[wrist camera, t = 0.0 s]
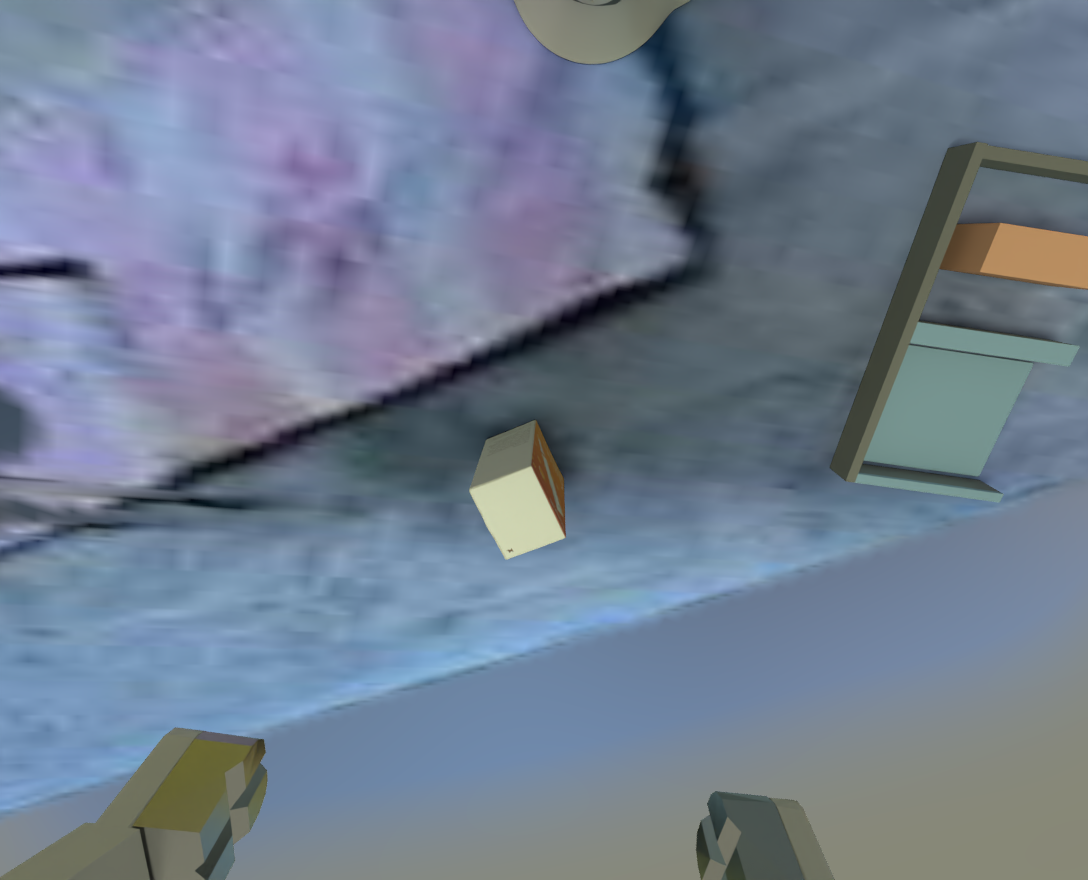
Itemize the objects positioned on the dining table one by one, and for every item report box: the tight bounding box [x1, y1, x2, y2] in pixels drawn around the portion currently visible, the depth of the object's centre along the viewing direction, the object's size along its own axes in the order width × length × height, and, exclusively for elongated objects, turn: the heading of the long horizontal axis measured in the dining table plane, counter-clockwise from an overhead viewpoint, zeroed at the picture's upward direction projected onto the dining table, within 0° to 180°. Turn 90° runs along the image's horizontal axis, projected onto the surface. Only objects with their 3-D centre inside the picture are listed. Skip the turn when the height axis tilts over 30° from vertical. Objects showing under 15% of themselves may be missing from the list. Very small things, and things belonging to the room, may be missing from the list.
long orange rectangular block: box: [939, 223, 1088, 290], centre depth 48 cm, size 4×12×6 cm, turn 82°
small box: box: [469, 420, 566, 560], centre depth 53 cm, size 8×6×13 cm
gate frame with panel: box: [830, 142, 1088, 502], centre depth 52 cm, size 32×17×4 cm, turn 172°
